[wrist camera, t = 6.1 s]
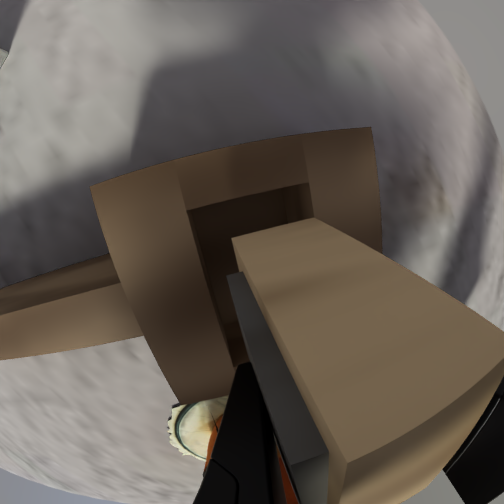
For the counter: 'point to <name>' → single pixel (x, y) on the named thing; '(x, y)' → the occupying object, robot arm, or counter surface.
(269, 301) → the tan cardboard block
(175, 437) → the decorative vase
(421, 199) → the counter surface
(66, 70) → the counter surface
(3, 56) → the light bulb box
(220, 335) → the wooden block stand
